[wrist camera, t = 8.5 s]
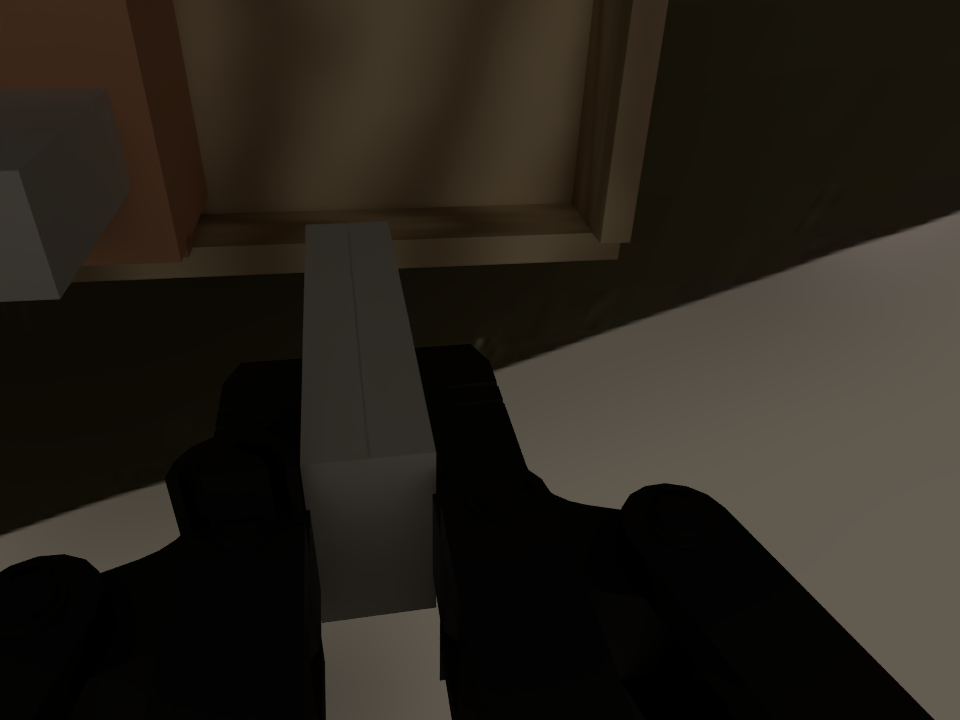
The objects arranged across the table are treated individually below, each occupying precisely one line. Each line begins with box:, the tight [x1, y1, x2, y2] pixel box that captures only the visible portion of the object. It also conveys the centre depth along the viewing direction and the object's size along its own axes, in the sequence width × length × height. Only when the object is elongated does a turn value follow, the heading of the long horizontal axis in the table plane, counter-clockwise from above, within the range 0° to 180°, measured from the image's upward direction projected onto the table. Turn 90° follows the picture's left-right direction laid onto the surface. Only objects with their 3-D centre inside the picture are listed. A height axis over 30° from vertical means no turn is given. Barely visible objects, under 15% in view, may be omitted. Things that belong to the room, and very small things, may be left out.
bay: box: [71, 0, 668, 282], centre depth 25 cm, size 33×12×5 cm, turn 89°
